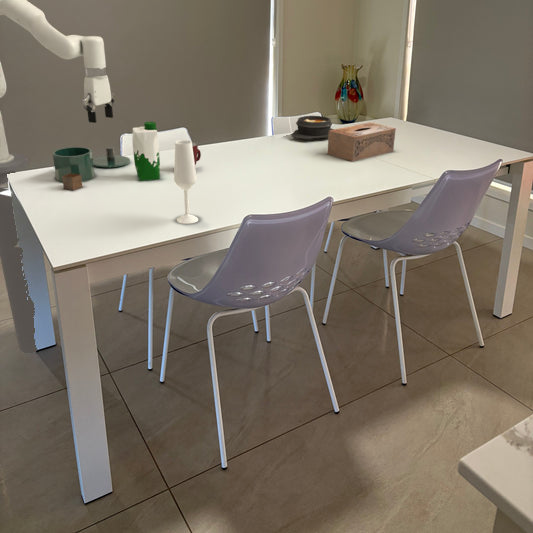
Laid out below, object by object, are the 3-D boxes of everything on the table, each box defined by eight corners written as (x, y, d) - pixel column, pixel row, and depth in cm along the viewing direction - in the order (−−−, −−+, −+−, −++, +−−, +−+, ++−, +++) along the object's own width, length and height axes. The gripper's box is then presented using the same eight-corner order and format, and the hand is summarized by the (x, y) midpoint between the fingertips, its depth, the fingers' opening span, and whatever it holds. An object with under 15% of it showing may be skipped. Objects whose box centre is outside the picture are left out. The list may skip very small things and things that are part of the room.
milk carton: (162, 179, 215) (158, 125, 207) (137, 182, 213) (132, 126, 204) (158, 173, 223) (154, 120, 214) (134, 175, 220) (129, 121, 212)
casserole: (313, 145, 263) (314, 126, 259) (281, 138, 274) (281, 120, 270) (345, 135, 280) (346, 117, 276) (313, 129, 291) (314, 112, 287)
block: (63, 188, 206) (62, 176, 204) (72, 185, 209) (71, 172, 207) (73, 190, 204) (71, 178, 202) (82, 187, 207) (81, 174, 205)
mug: (191, 164, 234) (189, 139, 229) (206, 167, 230) (206, 142, 225) (173, 170, 226) (171, 145, 221) (189, 174, 222) (188, 148, 217)
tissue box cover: (352, 161, 240) (354, 137, 235) (327, 154, 250) (328, 130, 245) (393, 151, 255) (395, 128, 250) (367, 144, 265) (369, 122, 260)
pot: (48, 179, 215) (44, 153, 211) (74, 169, 226) (71, 145, 222) (77, 184, 209) (73, 158, 205) (102, 174, 220) (99, 149, 216)
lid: (84, 165, 231) (82, 149, 228) (108, 156, 243) (107, 141, 240) (114, 170, 225) (112, 154, 222) (137, 161, 237) (136, 145, 234)
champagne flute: (199, 215, 184) (196, 139, 173) (197, 223, 178) (194, 145, 167) (177, 215, 183) (173, 139, 173) (175, 223, 177) (170, 145, 167)
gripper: (103, 69, 223) (107, 114, 231) (71, 74, 209) (77, 123, 217) (119, 70, 220) (123, 116, 228) (88, 76, 206) (94, 125, 214)
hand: (101, 119), depth 222 cm, fingers open, 9 cm apart
